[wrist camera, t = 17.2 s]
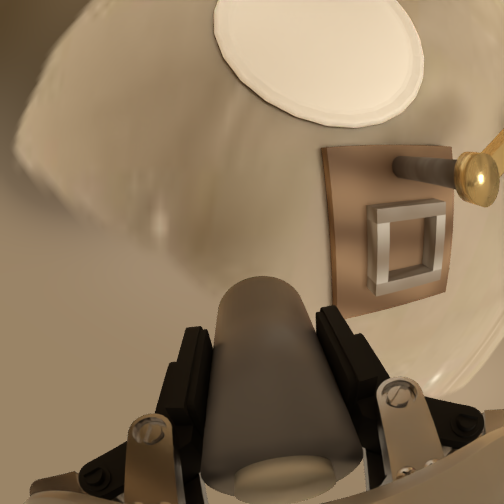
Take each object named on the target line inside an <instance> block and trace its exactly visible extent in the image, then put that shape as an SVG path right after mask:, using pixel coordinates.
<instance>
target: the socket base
mask: <svg viewBox="0 0 504 504" xmlns="http://www.w3.org/2000/svg"><path fill="white" fill-rule="evenodd" d="M321 149H322V157H323V165H324V174H325V183H326V193H327V203H328V215H329V229H330V244H331V265H332V300H333V305H336V307H337V308H338V310H339V311H340V313H341V315H342V316H343V318H344V319H347V318H351V317H356V316H360V315H364V314H368V313H373V312H377V311H380V310H384V309H388V308H392V307H396V306H399V305H403V304H407V303H410V302H414V301H417V300H420V299H424V298H427V297H430V296H434V295H437V294H440V293H443V292H445V291H446V285H447V279H448V272H449V264H450V256H451V246H452V233H453V212H454V189H456V187H455V183H454V169H455V164H456V161H457V160H453V159H452V147H447V146H427V145H362V146H340V147H326V148H321Z"/></svg>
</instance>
